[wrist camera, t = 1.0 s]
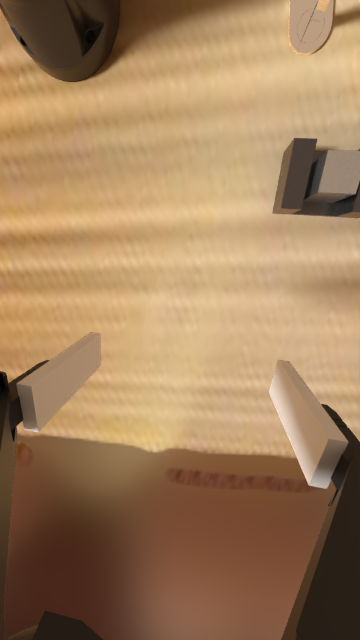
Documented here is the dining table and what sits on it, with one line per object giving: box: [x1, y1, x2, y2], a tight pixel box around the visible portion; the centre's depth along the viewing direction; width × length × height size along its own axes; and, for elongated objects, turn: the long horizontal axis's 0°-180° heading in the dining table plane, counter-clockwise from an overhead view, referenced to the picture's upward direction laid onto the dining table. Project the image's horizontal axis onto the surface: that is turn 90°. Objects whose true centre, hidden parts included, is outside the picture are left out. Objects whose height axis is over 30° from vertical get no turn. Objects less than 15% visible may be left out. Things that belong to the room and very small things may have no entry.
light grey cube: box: [304, 150, 360, 203], centre depth 28 cm, size 4×4×5 cm
